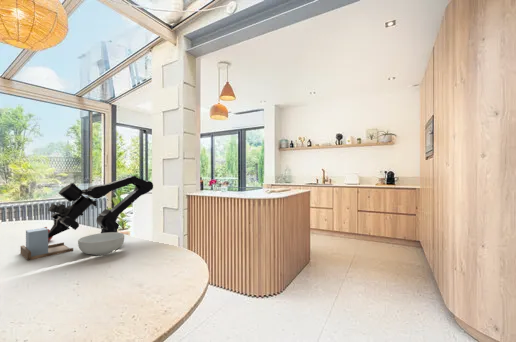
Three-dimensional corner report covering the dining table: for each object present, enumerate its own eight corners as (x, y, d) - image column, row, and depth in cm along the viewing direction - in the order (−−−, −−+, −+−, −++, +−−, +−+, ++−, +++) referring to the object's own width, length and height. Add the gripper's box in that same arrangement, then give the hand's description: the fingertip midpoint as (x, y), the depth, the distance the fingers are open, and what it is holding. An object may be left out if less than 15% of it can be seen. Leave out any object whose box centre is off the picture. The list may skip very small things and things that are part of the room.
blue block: (45, 250, 104) (44, 227, 104) (48, 253, 101) (48, 229, 101) (26, 254, 99) (25, 230, 99) (28, 257, 96) (28, 232, 96)
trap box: (63, 246, 113) (63, 238, 112) (73, 252, 105) (73, 243, 105) (20, 255, 101) (20, 245, 101) (27, 263, 93) (27, 252, 93)
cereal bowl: (132, 247, 112) (132, 232, 112) (106, 260, 96) (106, 243, 96) (98, 246, 114) (98, 231, 114) (67, 259, 98) (67, 241, 97)
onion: (45, 245, 114) (45, 228, 114) (33, 245, 114) (33, 228, 114) (56, 241, 120) (55, 225, 120) (44, 241, 120) (44, 225, 120)
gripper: (56, 195, 112) (24, 223, 104) (69, 198, 101) (34, 230, 93) (76, 209, 119) (47, 237, 110) (91, 214, 108) (60, 245, 99)
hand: (47, 237), depth 103 cm, fingers closed, pressing on blue block
